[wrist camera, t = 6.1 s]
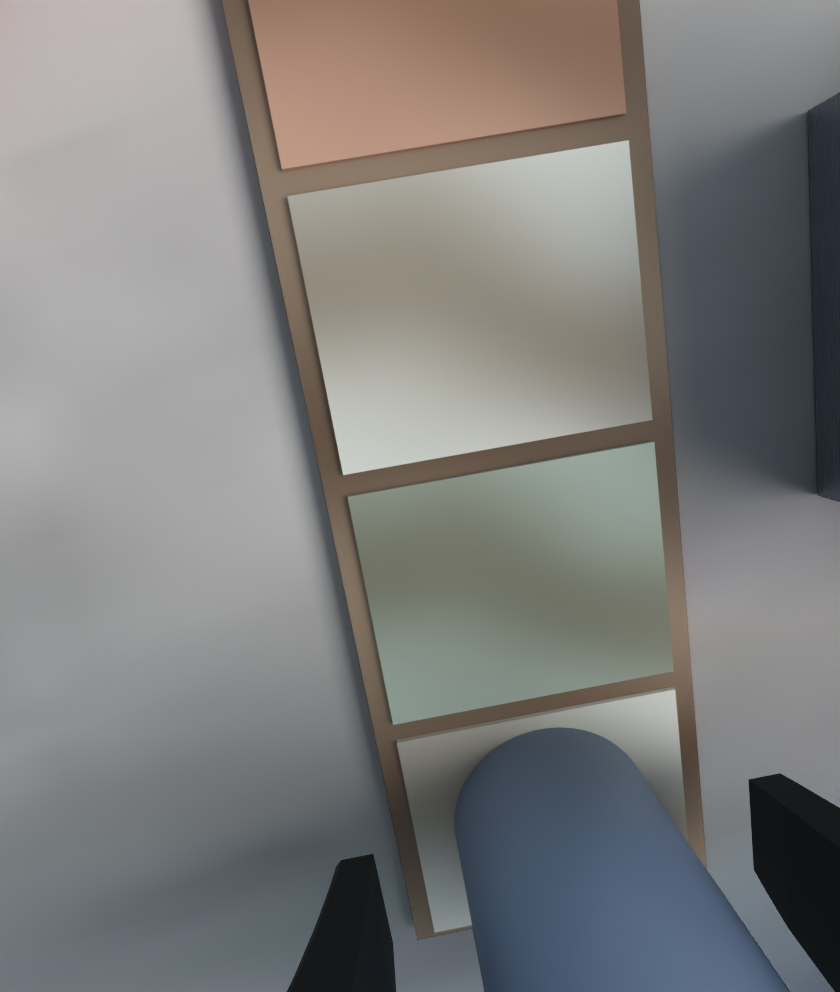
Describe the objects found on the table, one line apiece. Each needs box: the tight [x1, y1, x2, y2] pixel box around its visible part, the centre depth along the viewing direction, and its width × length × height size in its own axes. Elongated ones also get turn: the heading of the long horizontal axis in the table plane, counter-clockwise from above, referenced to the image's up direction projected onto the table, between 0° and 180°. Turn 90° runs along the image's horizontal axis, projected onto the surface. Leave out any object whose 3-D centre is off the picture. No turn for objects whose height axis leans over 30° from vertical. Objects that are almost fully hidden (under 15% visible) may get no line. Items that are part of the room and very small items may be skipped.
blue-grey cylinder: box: [455, 727, 790, 992], centre depth 10 cm, size 4×4×6 cm
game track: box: [222, 0, 707, 940], centre depth 11 cm, size 20×6×1 cm, turn 9°
